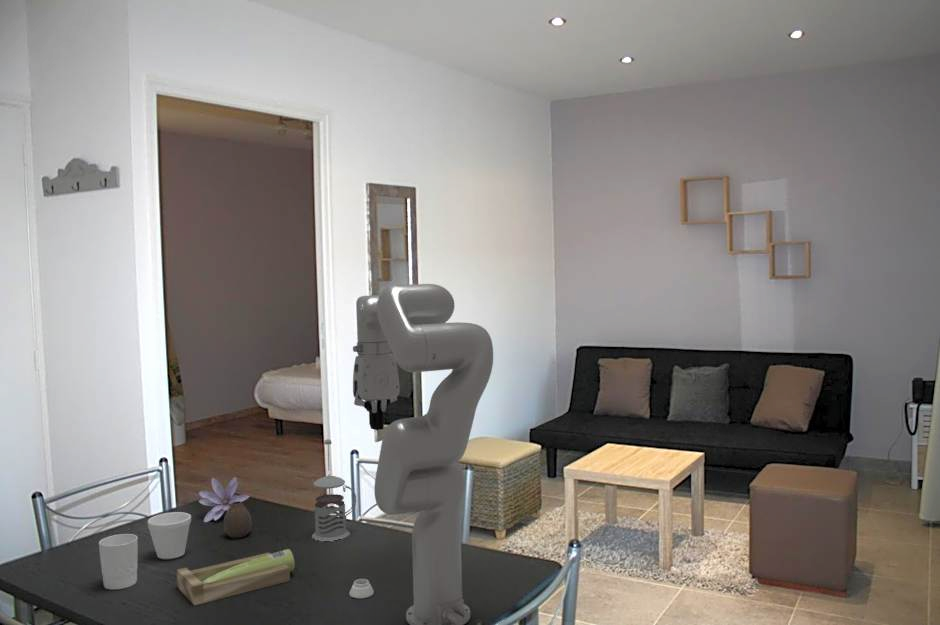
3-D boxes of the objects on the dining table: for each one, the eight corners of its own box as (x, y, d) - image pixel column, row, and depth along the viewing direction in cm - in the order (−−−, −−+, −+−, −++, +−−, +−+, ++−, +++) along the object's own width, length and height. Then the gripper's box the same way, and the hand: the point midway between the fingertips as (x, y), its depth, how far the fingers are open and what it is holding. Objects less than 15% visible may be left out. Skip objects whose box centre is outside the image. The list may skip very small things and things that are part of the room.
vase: (222, 534, 214) (221, 500, 214) (249, 529, 217) (248, 497, 217) (226, 542, 208) (225, 507, 207) (254, 537, 211) (252, 504, 210)
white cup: (128, 574, 187) (126, 531, 187) (146, 582, 182) (144, 538, 182) (94, 585, 181) (92, 541, 181) (112, 594, 176) (109, 548, 176)
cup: (140, 561, 195) (138, 523, 195) (165, 547, 205) (163, 510, 204) (177, 564, 193) (175, 525, 192) (201, 549, 203) (199, 513, 202)
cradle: (290, 580, 182) (289, 563, 181) (194, 605, 169) (193, 586, 169) (269, 565, 191) (268, 548, 191) (177, 587, 179) (176, 569, 179)
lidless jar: (358, 602, 170) (378, 595, 173) (358, 588, 170) (378, 581, 173) (345, 595, 174) (364, 588, 177) (344, 581, 173) (363, 575, 177)
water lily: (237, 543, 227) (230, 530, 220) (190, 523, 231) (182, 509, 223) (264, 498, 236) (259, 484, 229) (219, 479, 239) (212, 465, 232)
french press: (308, 531, 214) (305, 437, 213) (352, 526, 219) (349, 433, 217) (315, 543, 205) (311, 445, 204) (360, 537, 209) (357, 440, 208)
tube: (293, 577, 186) (206, 600, 176) (285, 560, 190) (199, 582, 179) (296, 560, 183) (208, 583, 173) (289, 543, 187) (201, 564, 176)
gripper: (353, 353, 180) (356, 436, 181) (410, 347, 189) (413, 426, 190) (337, 351, 186) (340, 431, 187) (393, 346, 195) (396, 422, 196)
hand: (376, 428), depth 189 cm, fingers closed
